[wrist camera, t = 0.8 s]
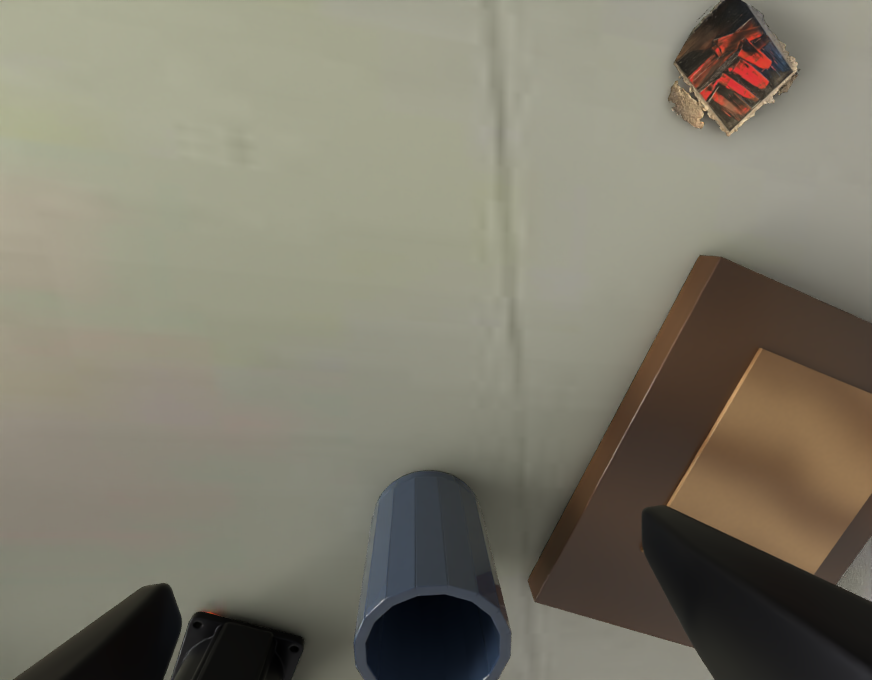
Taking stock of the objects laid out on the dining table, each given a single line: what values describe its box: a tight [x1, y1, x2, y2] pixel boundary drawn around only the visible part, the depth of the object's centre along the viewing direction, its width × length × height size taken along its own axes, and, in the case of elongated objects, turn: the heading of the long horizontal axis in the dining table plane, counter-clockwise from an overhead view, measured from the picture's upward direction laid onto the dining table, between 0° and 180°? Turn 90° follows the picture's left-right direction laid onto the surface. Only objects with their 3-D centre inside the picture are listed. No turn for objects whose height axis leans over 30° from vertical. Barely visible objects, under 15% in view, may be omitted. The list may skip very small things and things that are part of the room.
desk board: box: [528, 255, 872, 648], centre depth 22 cm, size 20×16×2 cm
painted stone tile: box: [668, 0, 800, 136], centre depth 18 cm, size 5×5×1 cm
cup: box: [353, 471, 511, 680], centre depth 19 cm, size 6×6×8 cm
